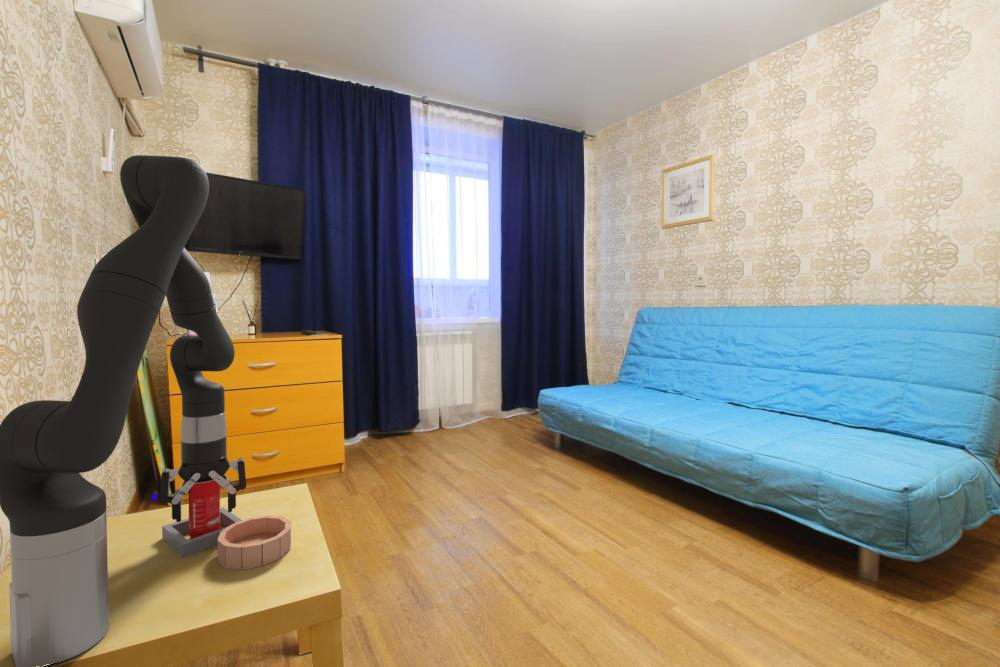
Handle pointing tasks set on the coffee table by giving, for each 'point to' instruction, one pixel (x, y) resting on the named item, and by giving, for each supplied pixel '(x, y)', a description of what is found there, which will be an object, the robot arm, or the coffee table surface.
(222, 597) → the coffee table surface
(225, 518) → the rectangular frame
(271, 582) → the coffee table surface
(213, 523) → the beverage can
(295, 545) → the coffee table surface
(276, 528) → the bowl
